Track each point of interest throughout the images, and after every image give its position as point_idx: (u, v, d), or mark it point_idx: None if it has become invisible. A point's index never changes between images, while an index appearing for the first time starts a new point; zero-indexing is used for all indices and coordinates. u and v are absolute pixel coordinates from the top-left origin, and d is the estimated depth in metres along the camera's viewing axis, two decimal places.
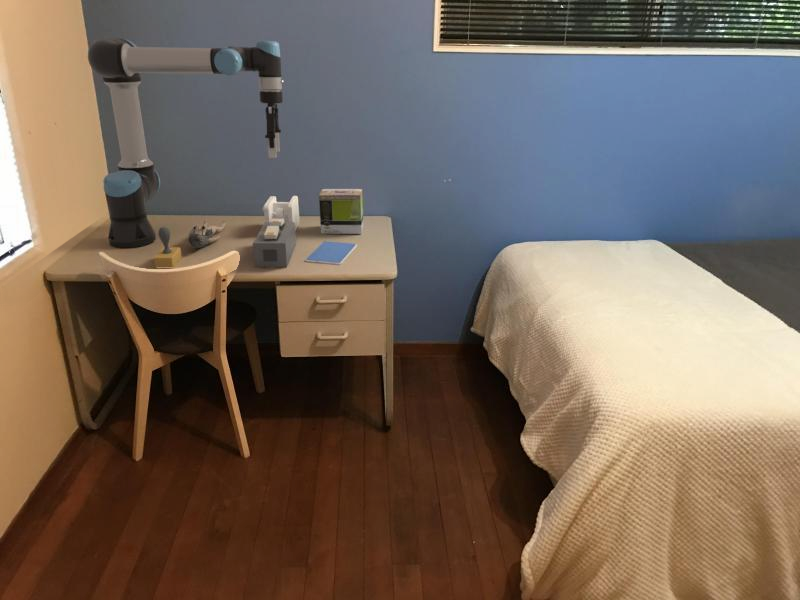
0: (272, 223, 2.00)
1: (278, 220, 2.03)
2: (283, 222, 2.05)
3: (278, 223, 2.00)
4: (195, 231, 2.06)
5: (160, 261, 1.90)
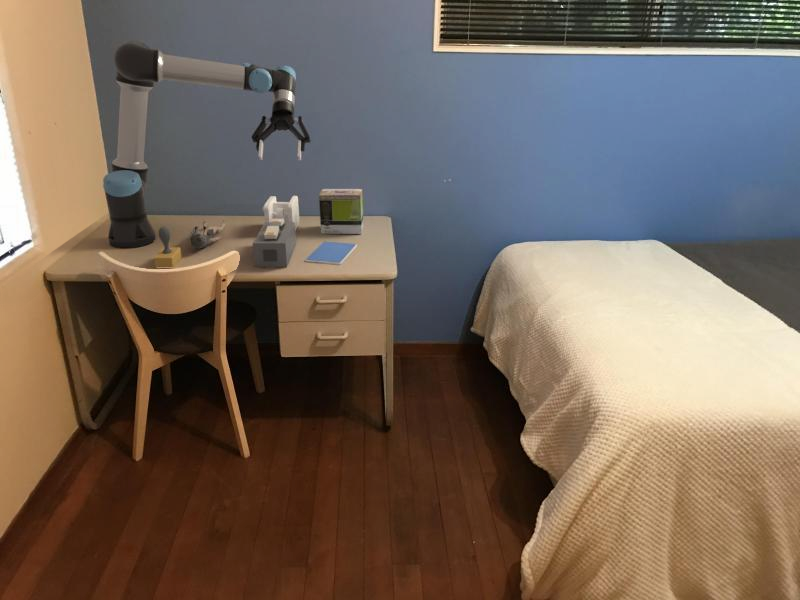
0: (272, 223, 2.00)
1: (278, 220, 2.03)
2: (283, 222, 2.05)
3: (278, 223, 2.00)
4: (196, 231, 2.05)
5: (160, 261, 1.90)
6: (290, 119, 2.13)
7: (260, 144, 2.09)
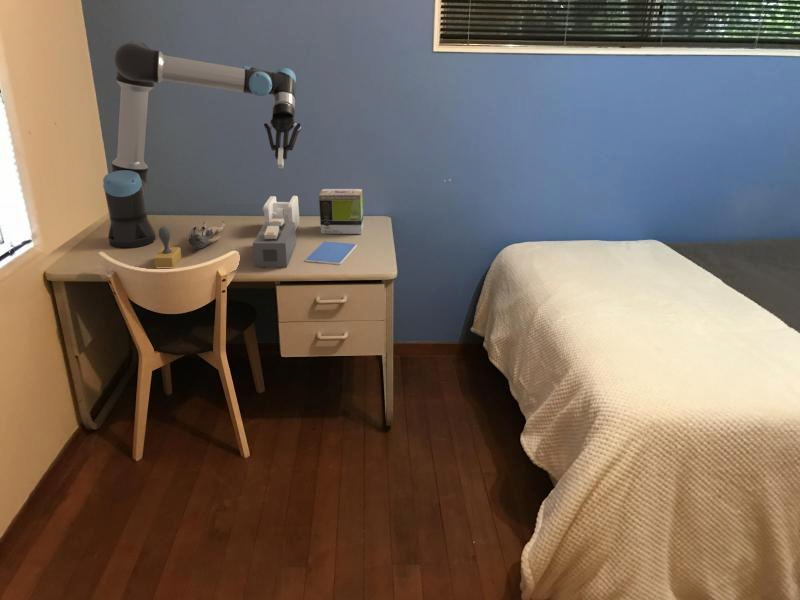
0: (272, 223, 2.00)
1: (278, 220, 2.03)
2: (283, 222, 2.05)
3: (278, 223, 2.00)
4: (195, 232, 2.05)
5: (160, 261, 1.90)
6: (290, 121, 2.14)
7: (279, 152, 2.09)
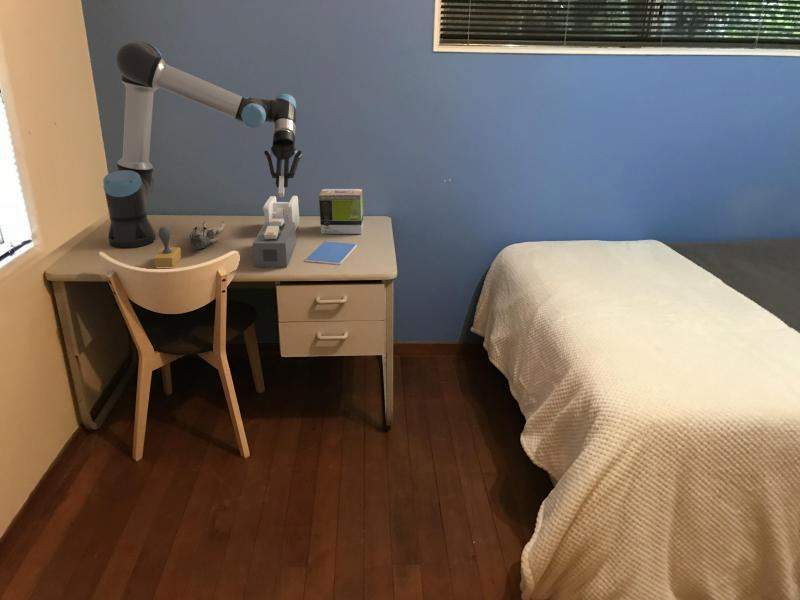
0: (272, 223, 2.00)
1: (278, 220, 2.03)
2: (283, 222, 2.05)
3: (278, 223, 2.00)
4: (196, 232, 2.05)
5: (160, 261, 1.90)
6: (290, 148, 2.10)
7: (280, 180, 2.06)
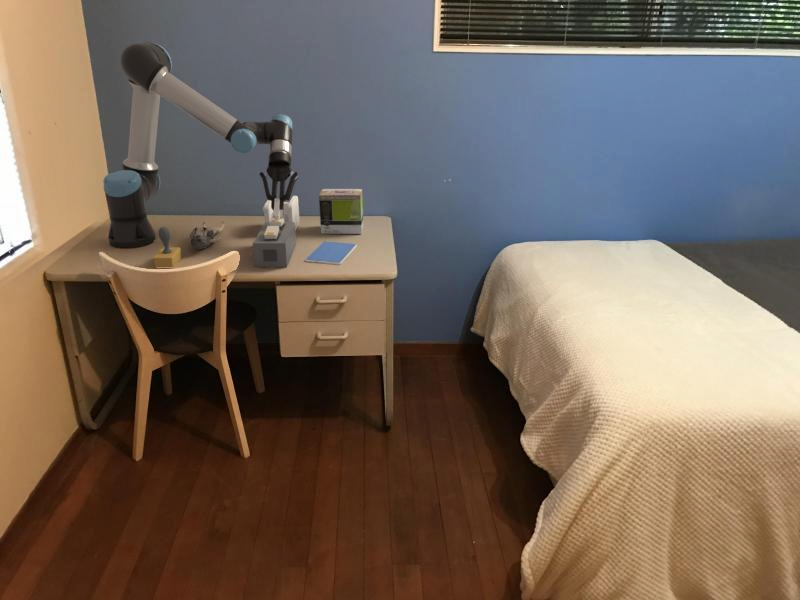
0: (272, 223, 2.00)
1: (278, 220, 2.03)
2: (283, 222, 2.05)
3: (278, 223, 2.00)
4: (196, 232, 2.04)
5: (160, 261, 1.90)
6: (286, 170, 2.07)
7: (275, 203, 2.02)
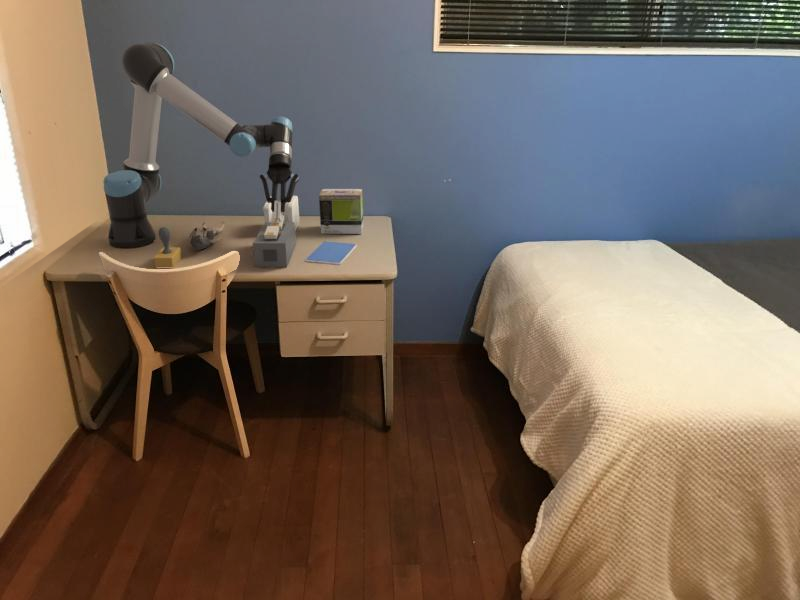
0: None
1: (278, 221, 2.03)
2: (283, 220, 2.05)
3: None
4: (196, 233, 2.04)
5: (160, 261, 1.90)
6: (287, 172, 2.06)
7: (275, 205, 2.01)
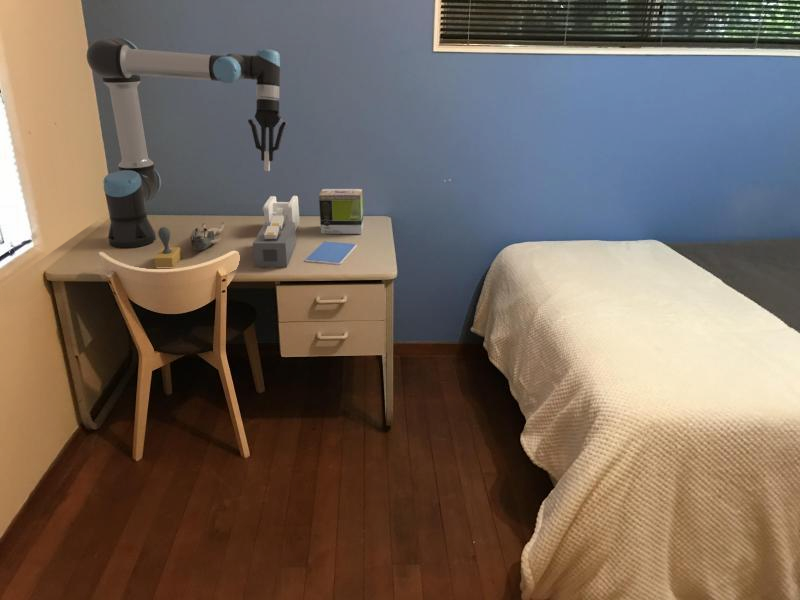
0: None
1: (278, 221, 2.03)
2: (283, 220, 2.05)
3: None
4: (197, 233, 2.04)
5: (160, 261, 1.90)
6: (275, 118, 2.07)
7: (265, 156, 2.10)
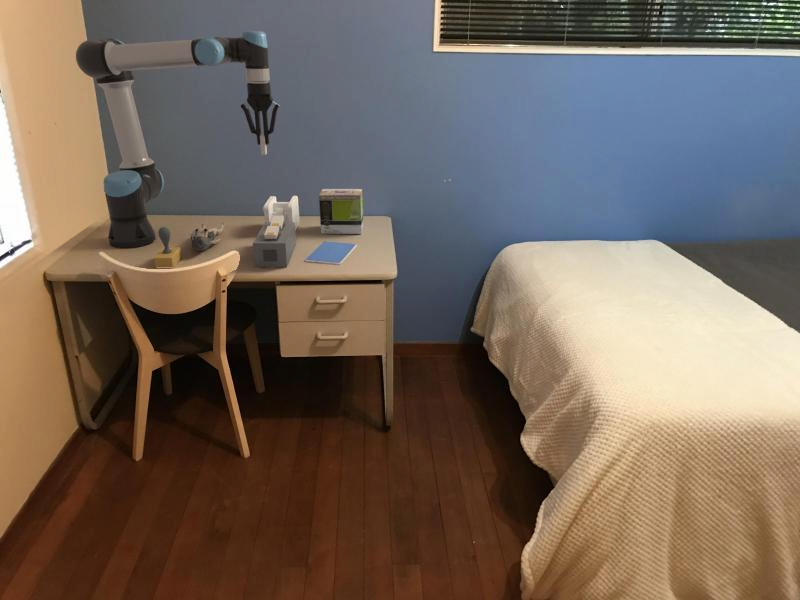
0: None
1: (278, 221, 2.03)
2: (283, 220, 2.05)
3: None
4: (197, 234, 2.03)
5: (160, 261, 1.90)
6: (267, 101, 2.04)
7: (261, 141, 2.09)
